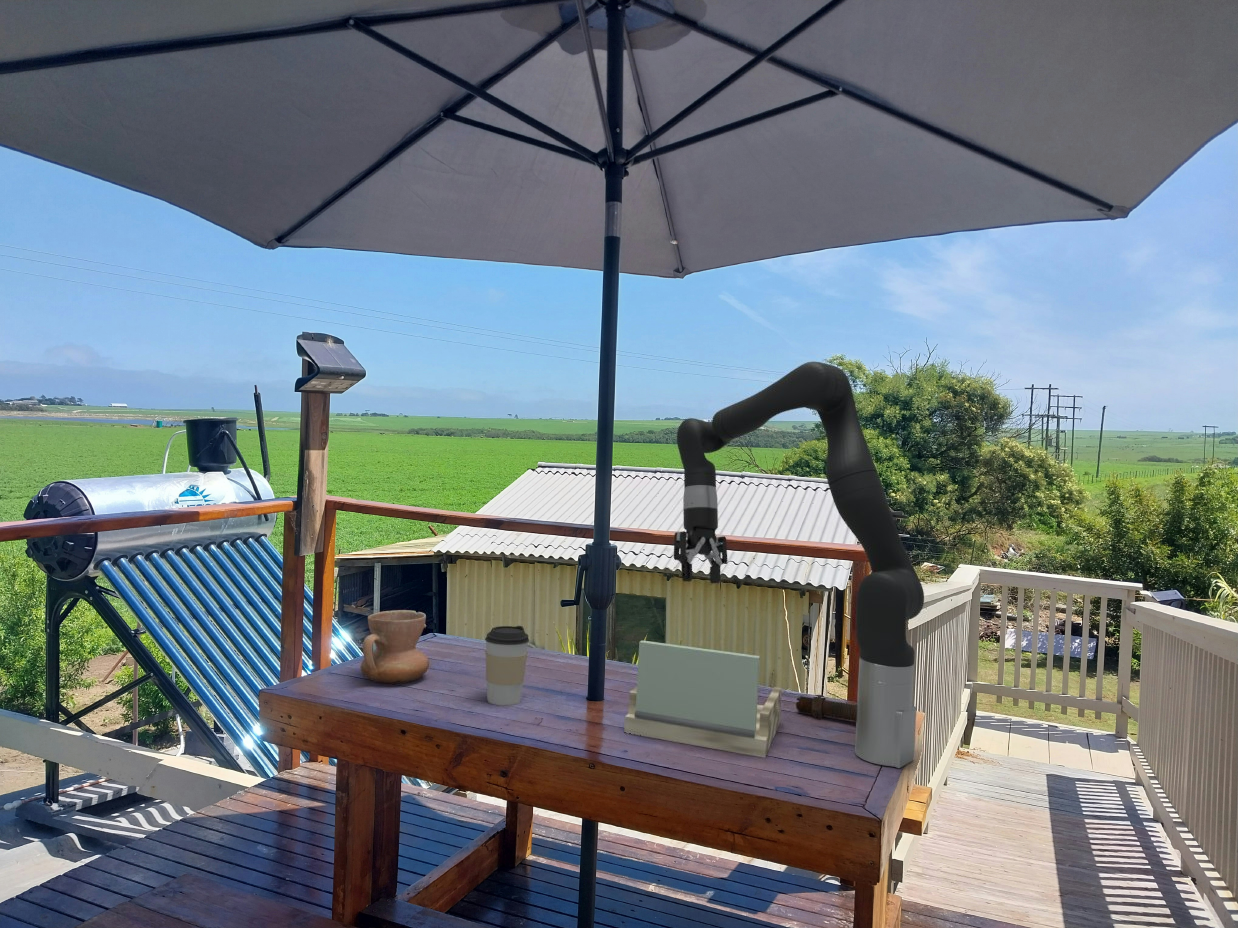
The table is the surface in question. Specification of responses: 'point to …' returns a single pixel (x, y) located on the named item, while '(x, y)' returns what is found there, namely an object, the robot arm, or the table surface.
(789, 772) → the table surface
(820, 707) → the bolt
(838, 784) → the table surface
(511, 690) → the coffee cup
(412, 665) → the ceramic jug
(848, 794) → the table surface
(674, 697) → the panel
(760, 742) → the cart bed
